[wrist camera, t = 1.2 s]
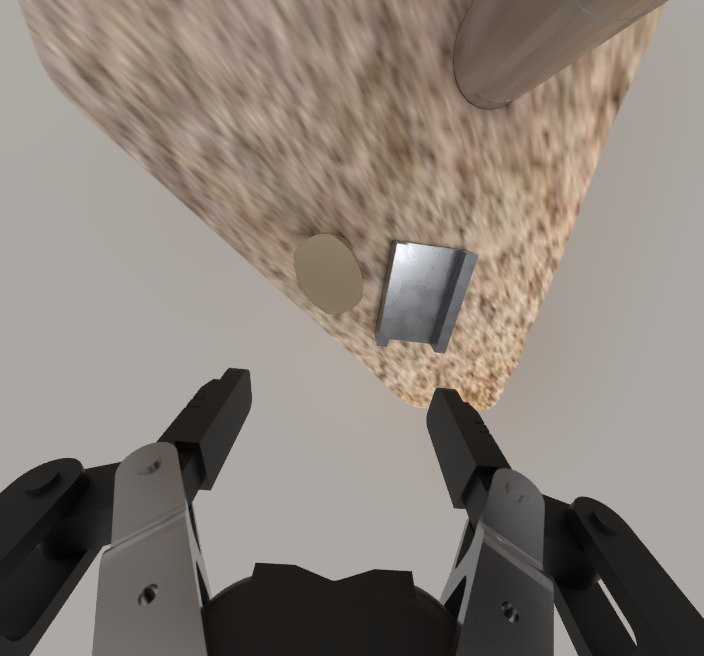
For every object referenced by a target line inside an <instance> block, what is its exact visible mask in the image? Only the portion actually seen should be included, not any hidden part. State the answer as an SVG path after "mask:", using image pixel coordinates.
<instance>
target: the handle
mask: <svg viewBox="0 0 704 656" xmlns="http://www.w3.org/2000/svg"><path fill="white" fill-rule="evenodd" d="M294 260H295V271H296V276H297V280H298V282H299V284H300V286H301V288H302V289H303V291H304V293H305V295H306V296H307V297H308V299H309V300H310V301H311V302H312V303H313V304H314V305H316V306H317V307H318V308H320V309H321V310H322V311H324V312H325V313H327V314H341V313H344V312H347V311H349V310H351V309H352V308H354V307H355V306H356V305H357V304H358V303H359V302H360V301H361V299H362V291H363V280H362V272H361V269H360V266H359V264H358V262H357V260H356V257H355V255H354V253H353V252H352V248H351V246H350V244H349V242H348V241H347V240H346V239H344V238H343V237H340V236H335V235H334V234H331V233H321V234H317V235H314V236H312V237H310V238H308V239H307V240H305V241H304V242H303V243H301V244H300V245H299V247H298V248H297V249H296V251H295V253H294Z"/></svg>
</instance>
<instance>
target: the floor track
mask: <svg viewBox="0 0 704 656" xmlns="http://www.w3.org/2000/svg"><path fill="white" fill-rule="evenodd" d="M477 258H478V254H475V253H472V252H470V251H467V250H461V249H454V248H446V247H439V246H432V245H425V244H418V243H410V242H403V241H396V240H393V241H392V247H391V252H390V257H389V262H388V268H387V273H386V278H385V283H384V288H383V294H382V299H381V304H380V309H379V315H378V320H377V325H376V330H375V339H376V344H377V346H384V347H387V346H388V341H389V339H393V340H402V341H411V342H420V343H429V344H430V345H431V346H432V348H433V350H434V352H438V353H445V351H446V349H447V346H448V343H449V340H450V337H451V334H452V331H453V328H454V325H455V322H456V319H457V316H458V313H459V310H460V307H461V305H462V302H463V299H464V296H465V293H466V290H467V287H468V284H469V281H470V278H471V275H472V272H473V269H474V266H475V263H476V261H477Z"/></svg>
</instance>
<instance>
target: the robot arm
mask: <svg viewBox="0 0 704 656" xmlns="http://www.w3.org/2000/svg"><path fill="white" fill-rule="evenodd" d="M667 1H668V0H475V1H474V2H473V4H472V6H471V7H470V9H469V11H468V13H467V14H466V16H465V18H464V19H463V22H462V24H461V27H460V29H459V32H458V35H457V39H456V44H455V50H454V71H455V76H456V80H457V84H458V86H459V88H460V90H461V92H462V94H463V95H464V96H465V97H466V99H467V100H468V101H469V102H471V103H472V104H474V105H475V106H477V107H480V108H483V109H495V108H500V107H503V106H505V105H507V104H509V103H511V102H513V101H515V100H516V99H518V98H519V97H521V96H522V95H524V94H525V93H527V92H528V91H530V90H531V89H533V88H535V87H536V86H538V85H539V84H541V83H542V82H544V81H546V80H547V79H549V78H550V77H552V76H553V75H555V74H556V73H558V72H559V71H561V70H562V69H564V68H565V67H567V66H569V65H570V64H572V63H573V62H575V61H576V60H578V59H579V58H581V57H582V56H584V55H585V54H587V53H588V52H590V51H592V50H593V49H595V48H596V47H598V46H599V45H601V44H602V43H604V42H605V41H607V40H608V39H610V38H611V37H613V36H615V35H616V34H618V33H619V32H621V31H622V30H624V29H625V28H627V27H628V26H630V25H631V24H633V23H634V22H636V21H638V20H639V19H641V18H642V17H644V16H645V15H647V14H648V13H650V12H651V11H653V10H654V9H656V8H657V7H659V6H661V5H662V4H664V3H665V2H667ZM251 403H252V392H251V380H250V372H249V370H246V369H237V368H229V369H227V371H226V372H225V373H224V375H223V376H222V377H221V379H220V380H219V379H213V380H211V381H210V382H208V383H207V384H205V385H204V386H202V387H201V388H200V389H199V391H198V392H197V393H196V394H195V396H194V397H193V399H192V400H191V401H190V402H189V403H188V404H187V406H186V408H184V409H183V410H182V411H181V413H180V414H179V415H178V416H177V418H176V419H175V420H174V421H173V422H172V424H171V425H170V426H169V427H168V429H167V430H166V431H165V432H164V433H163V435H162V436H161V437H160V438H159V440H158V441H157V442H156V443H151V444H148V445H145V446H143V447H141V448H139V449H137V450H136V451H134V452H132V453H131V454H130V455H129V456H127V457H126V458H125V459H124V460H123V461H122V462H119V463H114V464H109V465H103V466H98V467H94V468H89V469H84V468H83V466H82V464H81V463H80V461H78V460H77V459H74V458H62V459H57V460H53V461H50V462H47V463H44V464H42V465H39V466H37V467H36V468H33V469H31V470H30V471H28V472H27V473H25V474H23V475H22V476H20V477H19V478H17V479H16V480H15V481H14V482H12V483H11V484H10V485H9V486H8V487H7V488H6V489H5V490H3V491H2V492H1V493H0V656H29V655H30V654H31V653H32V651H33V649H34V648H35V646H36V645H37V644H38V642H39V641H40V639H41V638H42V636H43V634H44V633H45V632H46V630H47V629H48V627H49V626H50V624H51V623H52V621H53V620H54V618H55V617H56V615H57V614H58V612H59V611H60V609H61V608H62V606H63V605H64V603H65V602H66V600H67V599H68V597H69V596H70V594H71V593H72V591H73V590H74V588H75V587H76V585H77V584H78V583H79V581H80V580H81V578H82V577H83V575H84V573H85V572H86V571H87V569H88V568H89V566H90V564H91V563H92V562H93V560H94V559H95V557H96V556H97V554H98V553H99V551H100V550H101V548H102V547H103V546H105V545H108V544H111V547H110V549H108V550H106V551H105V552H104V553H103V555H102V558H101V561H100V568H99V580H98V591H97V603H96V615H95V627H94V640H93V651H92V656H553V654H554V646H553V644H554V604H555V606H556V608H557V611H558V613H559V615H560V617H561V619H562V621H563V624H564V626H565V628H566V630H567V632H568V634H569V636H570V639H571V641H572V643H573V645H574V647H575V649H576V652H577V654H578V656H704V618H703V617H702V616H701V615H700V614H699V612H698V611H697V610H696V609H695V607H694V606H693V605H692V604H691V603H690V601H689V600H688V599H687V597H686V596H685V595H684V594H683V593H682V591H681V590H680V589H679V588H678V586H677V585H676V584H675V583H674V581H673V580H672V579H671V578H670V576H669V575H668V574H667V573H666V571H665V570H664V569H663V568H662V567H661V565H660V564H659V563H658V561H657V560H656V559H655V558H654V556H653V555H652V554H651V553H650V552H649V550H648V549H647V548H646V547H645V545H644V544H643V543H642V542H641V541H640V540H639V538H638V537H637V535H636V534H635V533H634V532H633V530H632V529H631V528H630V527H629V526H628V524H627V523H626V522H625V521H624V520H623V519H622V518H621V517H620V516H619V515H618V514H616V513H615V512H614V511H613V510H612V509H610V508H609V507H607V506H606V505H604V504H603V503H601V502H599V501H597V500H595V499H592V498H588V497H578V498H577V499H575V500H574V502H573V503H572V504H571V505H570V504H567V503H564V502H562V501H559V500H556V499H554V498H551V497H548V496H546V495H543V494H541V493H540V491H539V490H538V488H537V487H536V486H535V485H534V484H533V483H532V482H531V481H530V480H529V479H528V478H526V477H525V476H523V475H522V474H521V473H519V472H517V471H514V470H512V469H511V467H510V465H509V464H508V462H507V460H506V459H505V457H504V455H503V454H502V452H501V450H500V449H499V447H498V445H497V443H496V442H495V440H494V439H493V437H492V435H491V434H489V430H488V429H487V427H486V425H484V422H483V420H482V418H481V417H480V415H479V414H478V412H477V411H476V410H475V409H474V408H473V407H472V406H471V405H470V404H469V403H468V402H463V401H462V399H461V397H460V395H459V394H458V392H457V391H456V390H455V389H447V388H436V390H435V392H434V395H433V398H432V401H431V404H430V407H429V410H428V413H427V428H428V431H429V434H430V437H431V440H432V443H433V446H434V449H435V452H436V455H437V458H438V462H439V464H440V467H441V471H442V473H443V477H444V480H445V483H446V486H447V489H448V491H449V495H450V498H451V500H452V504H453V507H454V508H459V509H466V511H467V513H468V516H469V518H468V519H467V521H466V524H465V528H464V531H463V534H462V537H461V541H460V544H459V547H458V551H457V554H456V557H455V561H454V564H453V567H452V571H451V573H450V576H449V578H448V581H447V583H446V585H445V588H444V590H443V592H442V595H441V598H440V601H438V600H437V599H435V598H434V597H433V596H431V595H430V594H429V593H427V592H426V591H424V590H422V589H421V588H419V587H417V586H415V585H414V582H413V576H412V571H395V570H378V569H374V570H370V571H367V572H364V573H361V574H357V575H354V576H351V577H348V578H344V579H341V580H337V581H332V580H329V579H327V578H324V577H322V576H320V575H317V574H315V573H313V572H310V571H308V570H305V569H303V568H301V567H299V566H296V565H287V564H269V563H255V567H254V571H253V574H252V576H251V577H247V578H244V579H242V580H240V581H238V582H236V583H234V584H232V585H230V586H229V587H227V588H225V589H224V590H222V591H221V592H220V593H218V594H217V595H216V596H214V597H213V598H211V592H210V587H209V583H208V578H207V574H206V569H205V566H204V561H203V556H202V550H201V545H200V540H199V534H198V529H197V524H196V518H195V512H194V507H193V503H192V501H193V500H194V498H195V496H196V494H197V492H198V490H211V489H212V486H213V484H214V482H215V480H216V478H217V476H218V474H219V472H220V470H221V468H222V466H223V464H224V462H225V460H226V458H227V456H228V454H229V452H230V450H231V448H232V446H233V444H234V442H235V440H236V438H237V436H238V433H239V432H240V430H241V428H242V426H243V423H244V422H245V419H246V417H247V415H248V413H249V411H250V408H251ZM600 579H602V581H603V582H604V584H605V585H606V587H607V589H608V590H609V592H610V594H611V595H612V597H613V598H614V600H615V602H616V603H617V605H618V606H619V608H620V609H621V611H622V613H623V615H624V616H625V617H626V619H627V621H628V623H629V624H630V626H631V628H632V630H633V632H634V635H635V638H636V642H637V646H636V645H635V643H634V641H633V640H632V638H631V636H630V635H629V633H628V631H627V630H626V628H625V626H624V625H623V623H622V621H621V620H620V618H619V617H618V615H617V614H616V611H615V610H614V608H613V607H612V605H611V603H610V602H609V600H608V598H607V597H606V595H605V594H604V592H603V590H602V588H601V587H600V585H599V583H598V581H599V580H600Z"/></svg>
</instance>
